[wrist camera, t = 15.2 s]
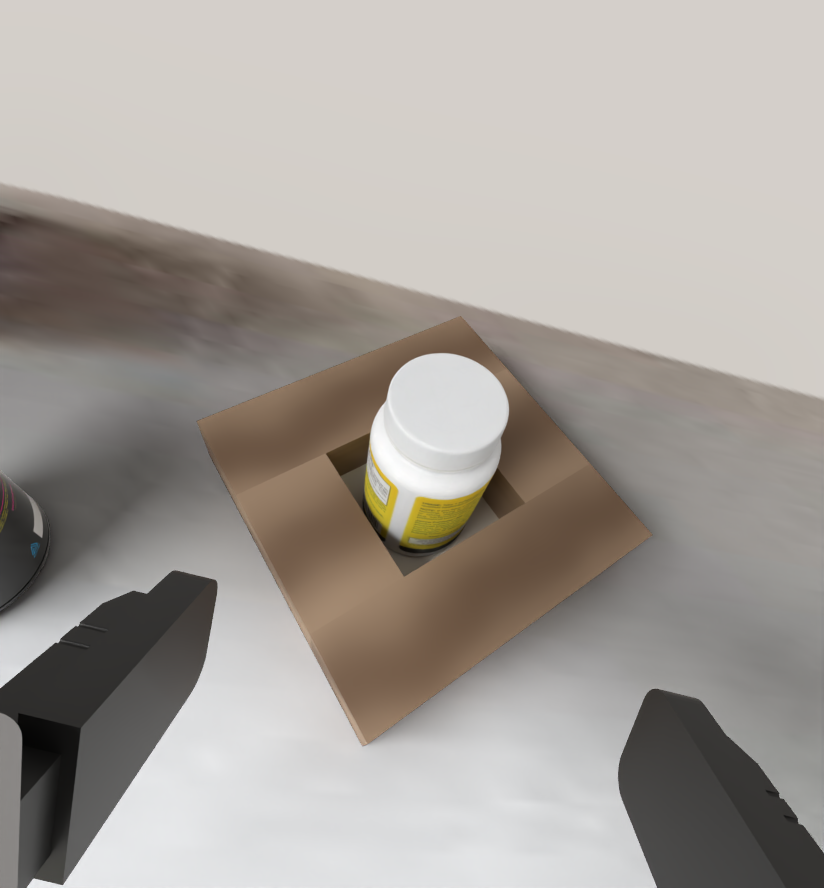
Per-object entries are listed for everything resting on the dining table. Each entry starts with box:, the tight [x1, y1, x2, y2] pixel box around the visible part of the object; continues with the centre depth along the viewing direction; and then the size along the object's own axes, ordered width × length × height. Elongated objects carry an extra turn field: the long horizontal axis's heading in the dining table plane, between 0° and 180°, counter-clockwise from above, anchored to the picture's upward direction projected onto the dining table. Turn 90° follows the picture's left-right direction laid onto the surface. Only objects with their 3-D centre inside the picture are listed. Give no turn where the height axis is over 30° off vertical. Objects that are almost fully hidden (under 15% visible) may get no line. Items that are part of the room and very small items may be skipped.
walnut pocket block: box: [197, 316, 652, 746], centre depth 26 cm, size 16×16×4 cm
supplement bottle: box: [363, 353, 509, 556], centre depth 23 cm, size 6×6×10 cm
